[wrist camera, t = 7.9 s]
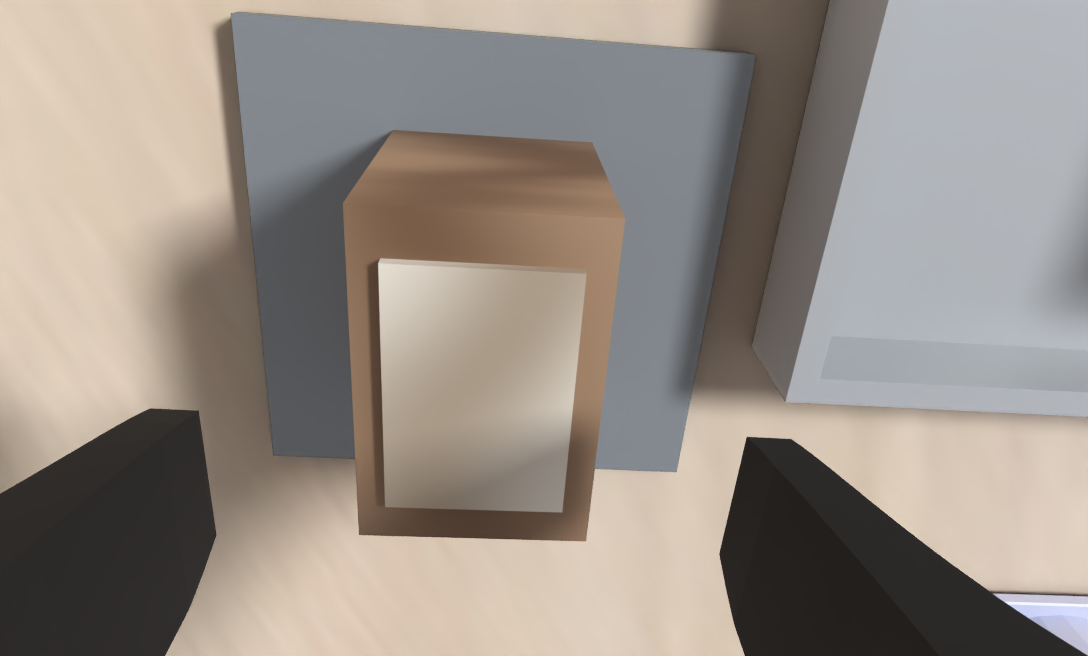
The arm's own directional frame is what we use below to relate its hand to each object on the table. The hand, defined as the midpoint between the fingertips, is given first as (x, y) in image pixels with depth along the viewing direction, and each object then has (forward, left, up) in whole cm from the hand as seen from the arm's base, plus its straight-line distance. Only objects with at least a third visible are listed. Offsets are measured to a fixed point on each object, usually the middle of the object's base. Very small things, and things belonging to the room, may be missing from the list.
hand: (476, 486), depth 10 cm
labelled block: (0, 0, -7) cm, 7 cm away
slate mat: (0, 0, -8) cm, 8 cm away
